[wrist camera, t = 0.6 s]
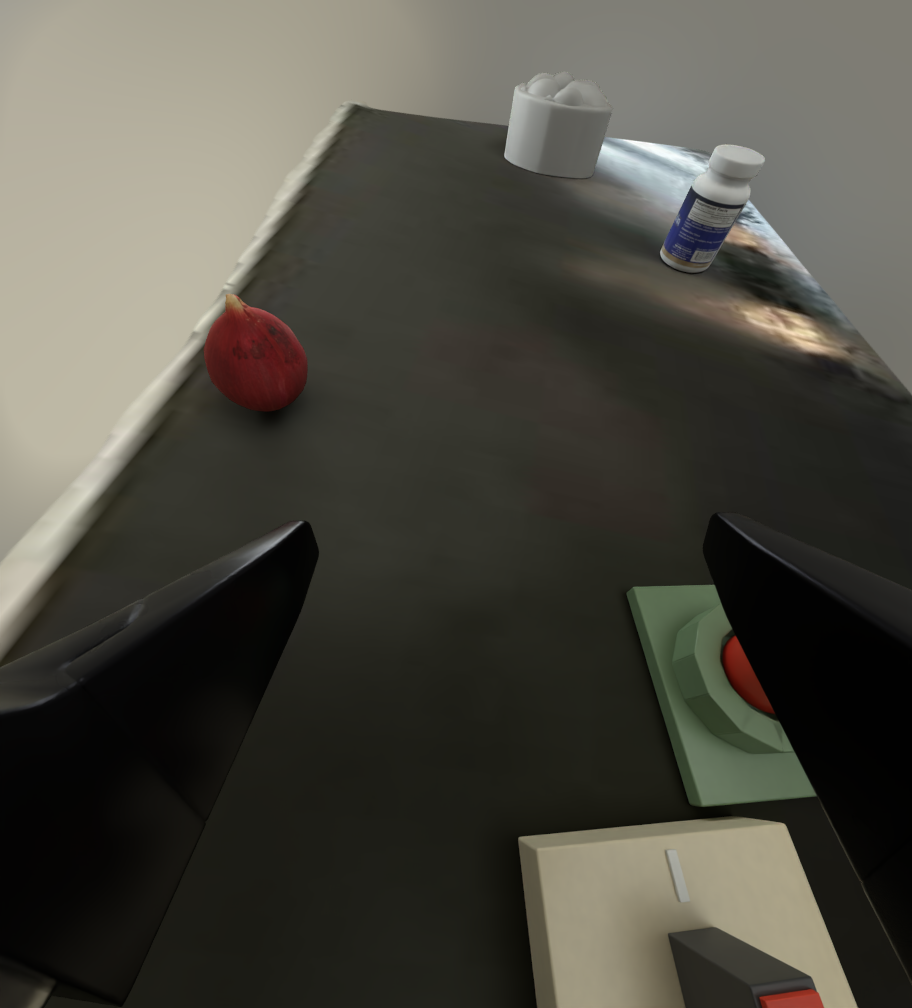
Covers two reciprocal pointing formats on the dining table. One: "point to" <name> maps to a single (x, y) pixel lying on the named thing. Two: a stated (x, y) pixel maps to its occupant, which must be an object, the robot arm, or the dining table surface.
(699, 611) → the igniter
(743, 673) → the button
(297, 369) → the onion
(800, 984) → the hob knob
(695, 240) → the pill bottle
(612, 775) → the dining table surface
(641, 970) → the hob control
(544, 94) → the lumpy-topped squat cylinder
